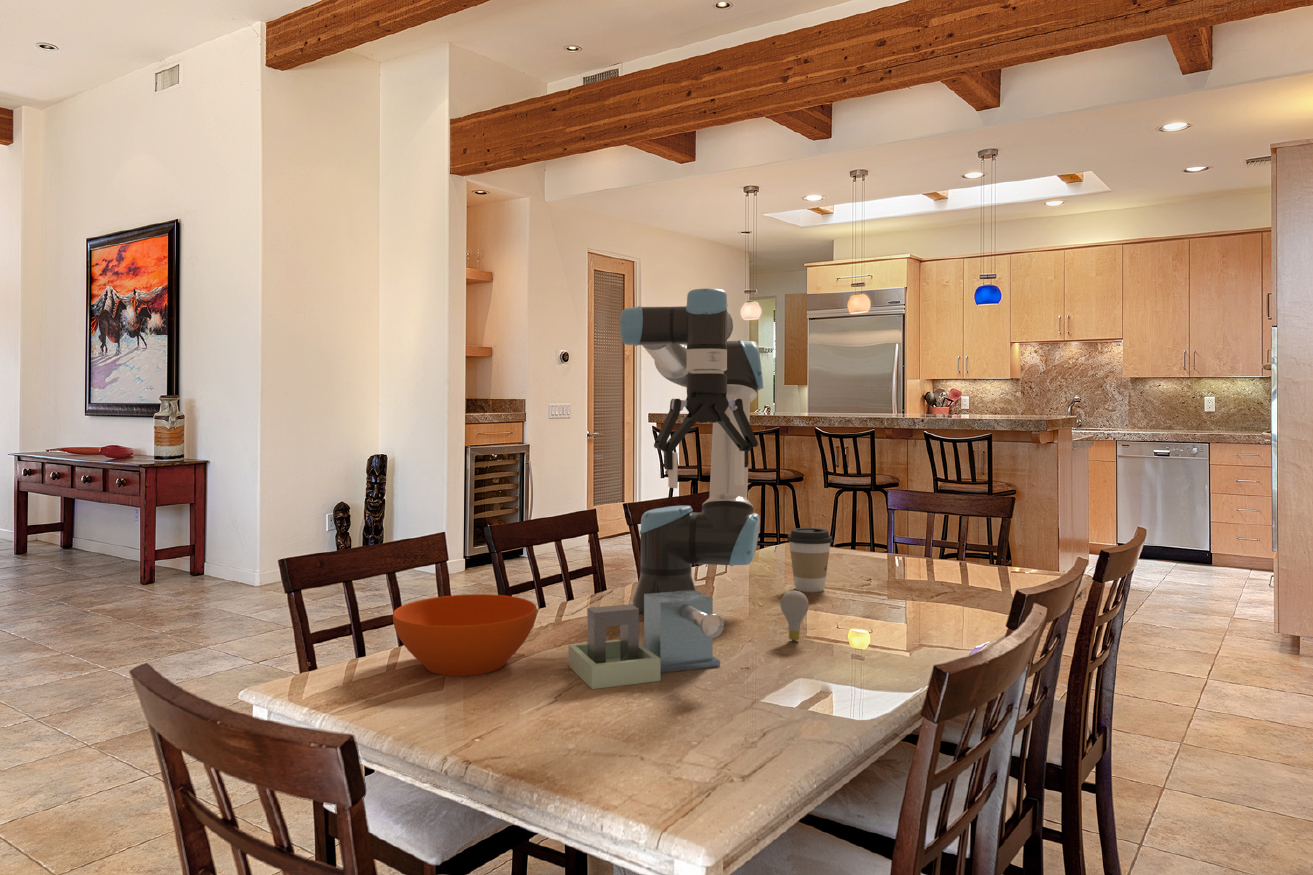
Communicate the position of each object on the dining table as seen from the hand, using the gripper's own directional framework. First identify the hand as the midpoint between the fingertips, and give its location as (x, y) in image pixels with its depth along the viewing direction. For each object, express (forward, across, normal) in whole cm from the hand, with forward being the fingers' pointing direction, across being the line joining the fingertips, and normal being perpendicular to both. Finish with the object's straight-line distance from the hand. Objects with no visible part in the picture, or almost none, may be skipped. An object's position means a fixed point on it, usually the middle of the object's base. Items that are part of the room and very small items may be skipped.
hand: (706, 486), depth 167 cm
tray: (+31, -21, -8) cm, 38 cm away
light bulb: (+31, +19, 0) cm, 37 cm away
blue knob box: (+31, -8, -10) cm, 34 cm away
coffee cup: (+32, +47, +43) cm, 71 cm away
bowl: (+31, -44, +7) cm, 54 cm away
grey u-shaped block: (+30, -21, -8) cm, 37 cm away
